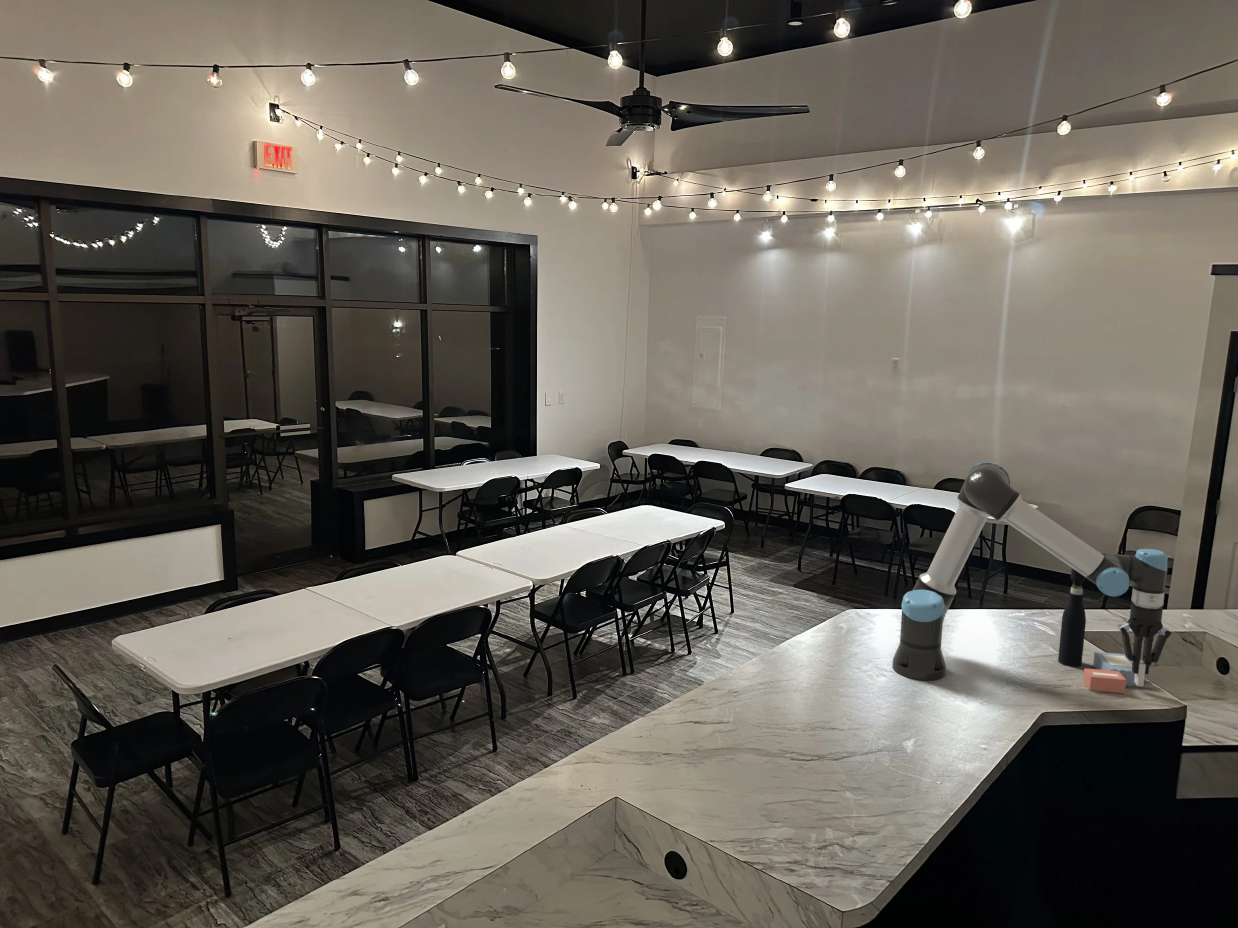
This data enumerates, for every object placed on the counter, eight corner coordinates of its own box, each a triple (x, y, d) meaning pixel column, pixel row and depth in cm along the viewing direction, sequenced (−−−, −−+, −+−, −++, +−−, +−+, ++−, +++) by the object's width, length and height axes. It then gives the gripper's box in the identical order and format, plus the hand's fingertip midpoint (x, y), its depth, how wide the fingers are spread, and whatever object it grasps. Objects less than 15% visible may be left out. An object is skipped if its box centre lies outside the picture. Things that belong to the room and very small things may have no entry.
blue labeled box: (1108, 683, 239) (1109, 669, 239) (1092, 664, 253) (1094, 651, 252) (1142, 686, 237) (1144, 672, 237) (1125, 667, 251) (1127, 654, 250)
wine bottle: (1085, 667, 251) (1095, 572, 246) (1064, 666, 251) (1073, 572, 246) (1074, 658, 257) (1083, 566, 252) (1054, 658, 257) (1062, 565, 253)
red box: (1089, 689, 235) (1091, 676, 234) (1083, 681, 241) (1084, 667, 240) (1124, 693, 233) (1126, 679, 232) (1117, 684, 238) (1118, 670, 238)
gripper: (1125, 607, 228) (1117, 687, 232) (1178, 610, 225) (1170, 691, 229) (1116, 598, 235) (1108, 676, 239) (1167, 601, 232) (1159, 680, 236)
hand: (1138, 683), depth 234 cm, fingers closed
